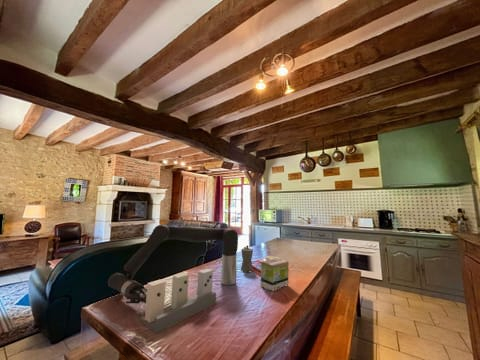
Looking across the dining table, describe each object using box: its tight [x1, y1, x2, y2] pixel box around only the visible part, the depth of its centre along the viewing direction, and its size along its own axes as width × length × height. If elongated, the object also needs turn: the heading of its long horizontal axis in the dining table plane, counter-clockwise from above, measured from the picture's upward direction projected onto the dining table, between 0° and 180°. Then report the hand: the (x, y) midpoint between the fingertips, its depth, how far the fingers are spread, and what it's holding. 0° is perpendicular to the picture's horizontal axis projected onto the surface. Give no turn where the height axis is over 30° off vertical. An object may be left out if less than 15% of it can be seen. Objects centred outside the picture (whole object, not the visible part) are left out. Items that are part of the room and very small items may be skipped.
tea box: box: [260, 258, 289, 292], centre depth 122 cm, size 15×10×15 cm
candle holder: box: [265, 255, 281, 261], centre depth 141 cm, size 10×10×12 cm
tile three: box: [196, 268, 213, 298], centre depth 100 cm, size 4×6×14 cm
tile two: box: [170, 272, 190, 309], centre depth 93 cm, size 4×6×14 cm
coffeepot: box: [240, 245, 254, 273], centre depth 153 cm, size 15×9×18 cm, turn 13°
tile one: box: [144, 278, 166, 323], centre depth 84 cm, size 4×6×14 cm
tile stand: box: [139, 291, 217, 334], centre depth 91 cm, size 13×31×5 cm, turn 141°
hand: (150, 301), depth 85 cm, fingers closed
